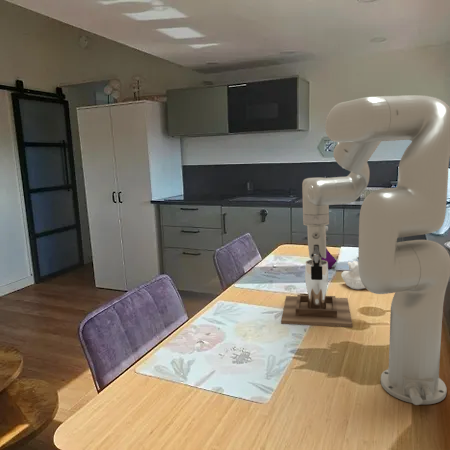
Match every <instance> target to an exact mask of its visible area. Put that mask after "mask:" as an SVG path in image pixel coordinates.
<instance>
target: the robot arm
mask: <svg viewBox="0 0 450 450" xmlns="http://www.w3.org/2000/svg"><path fill="white" fill-rule="evenodd" d="M325 119H326V120H325V124H324V125H325V127H324V128H325V133H326V135H327V137H328V139H329V140H331V141H332V142H334V143H336V145H335V146H334V149H333V158H334V160H335V162H336V163H337V164H338V165H339V166H340V167H341V168H342V169H345V170H346V171H348V172H349V174H347V176H337V177H336V176H334V177H307V178H304V179H303V180H302V184H301V185H302V186H301V187H302V191H301V193H302V223H303V224H302V225H304V226H306V227H307V228H306V229H307V231H306V232H307V246H308V247H307V248H308V249H307V250H308V256H309V259H310V260H312V266H311V279H312V280H322V266H321V260H322V258H324V259H325V258H326V248H327V238H326V237H327V231H326V228H325V226H328V225H330V208H329V206H333V205H344V204H351V203H353V202H355V201H356V200H358V199H359V198H360V197H361V196H362V194H363V193H364V192H365V190H366V189H367V187H368V185H369V182H370V167H369V163H368V161H369V160H370V158H371V157H372V156H373V154H374V153H375V151H376V150H377V148H378V147H379V145H380V144H381V142H389V141H390V142H393V141H394V142H395V141H408V140H409V141H411V142H410V143H409V145H407V147H406V149H404V152H403V154H402V155H401V158H400V160H399V163H398V179H397V184H396V185H397V186H395V187H387V188H380V189H376V190H373V191H372V192H370V193H368V195H367V196H366V197H365V198H364V199H363V201H362V204H361V206H360V210H359V216H358V217H359V218H358V220H359V221H358V259H357V260H358V266H359V275H360V278H361V281H362V283H363V285H364V287H365V288H364V289H365V290H367V291H368V292H369V293H372V294H376V295H387V294H394V295H393V298H392V300H391V303H390V304H391V305H390V313H389V314H390V315H389V316H390V317H389V319H390V321H389V348H388V349H389V352H388V368H387V369H385V370H384V371H383V372H381V374H380V384H381V387H382V388H383V390H385V391H386V393H388V394H389V395H390V396H393V398H395V399H398V400H400V401H403V402H407V403H410V404H413V405H414V406H419V405H432V404H436V403H440V402H441V401H443V400H444V399H445V398H446V397H447V385H446V384H445V382H444V381H443V380H442V379H441V378H440V363H441V362H440V361H441V360H440V359H441V346H442V345H441V341H442V325H443V323H442V321H443V311H444V301H445V295H446V290H447V287H448V283H449V280H450V254H449V252H448V251H447V249H446V248H445V246H443V245H442V244H440V243H439V242H437V241H433V240H430V239H414V240H406V241H405V240H403V241H398V238H405V237H406V238H407V237H413V236H421V235H422V236H423V235H428V234H432V233H436V232H437V231H439V230H440V229H441V228H442V227H443V225H444V222H445V219H446V212H447V211H446V210H447V197H448V183H449V165H450V106H449V105H448V104H447V103H446V102H445V101H444V100H442V99H440V98H438V97H435V96H429V95H419V94H418V95H414V94H412V95H411V94H410V95H408V94H407V95H383V96H381V95H379V96H376V95H375V96H366V97H365V96H364V97H359V98H356V99H352V100H348V101H342V102H338V103H336V104H335V105H334V106H333V107H332V108H331V109H330V111H329V112H328V114H327V116H326V118H325ZM321 257H322V258H321ZM319 263H320V264H319Z"/></svg>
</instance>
